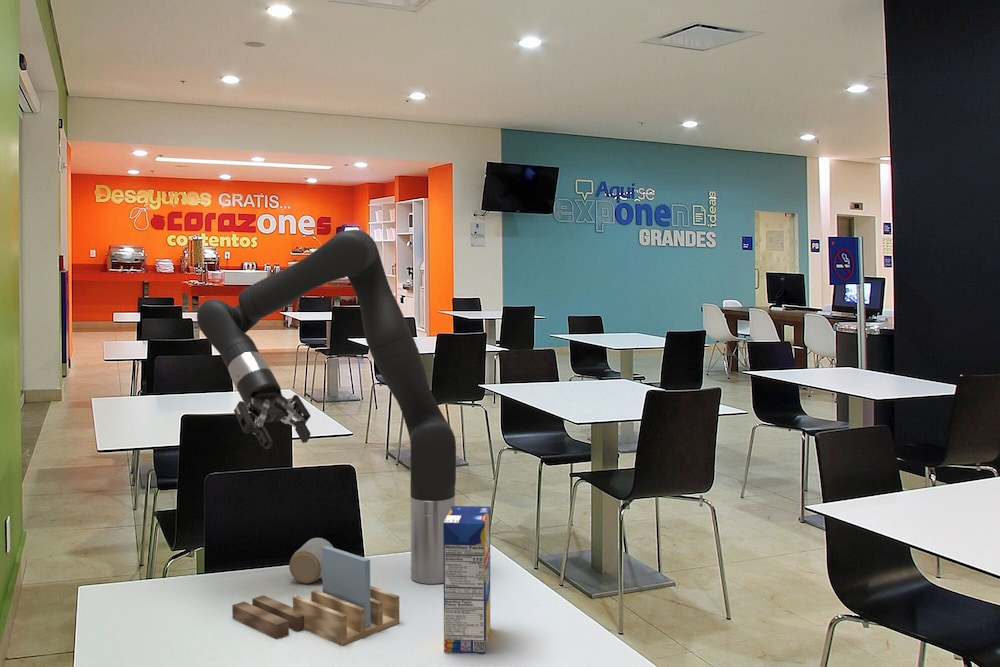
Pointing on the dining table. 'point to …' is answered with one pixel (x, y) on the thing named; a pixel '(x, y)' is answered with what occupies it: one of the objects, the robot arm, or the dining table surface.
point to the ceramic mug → (308, 561)
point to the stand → (268, 616)
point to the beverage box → (466, 579)
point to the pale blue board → (347, 578)
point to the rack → (346, 615)
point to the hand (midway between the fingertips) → (288, 443)
